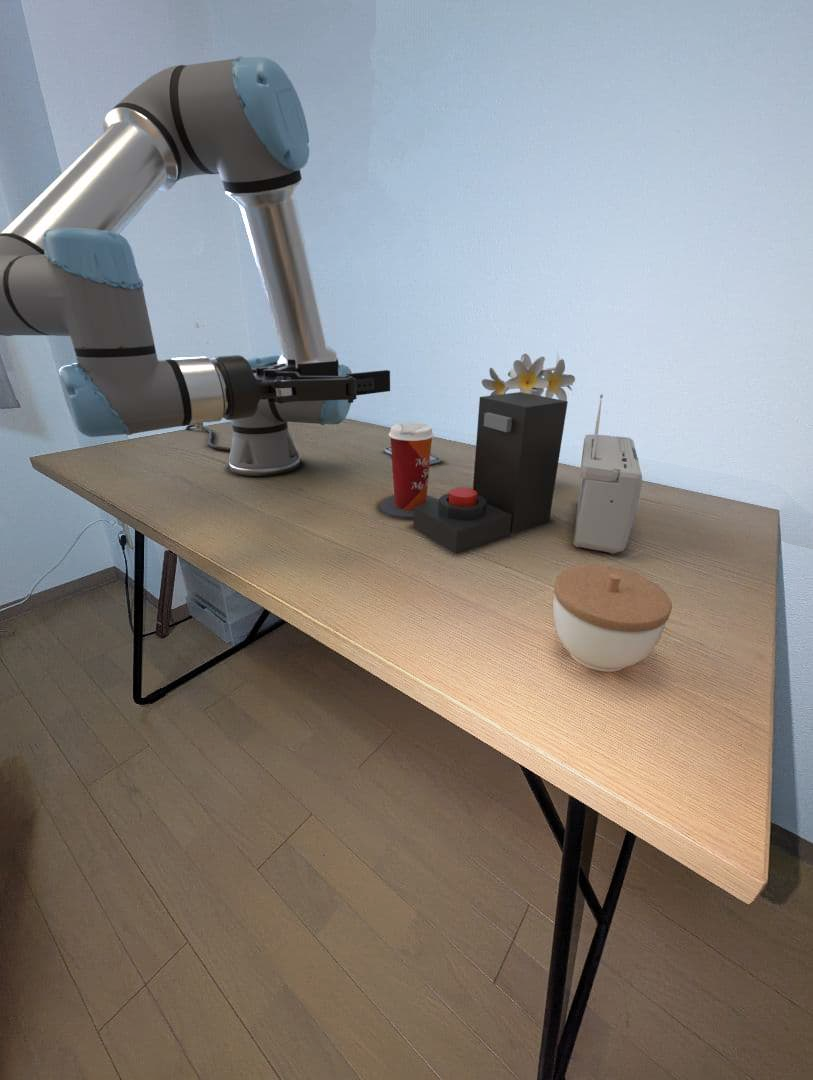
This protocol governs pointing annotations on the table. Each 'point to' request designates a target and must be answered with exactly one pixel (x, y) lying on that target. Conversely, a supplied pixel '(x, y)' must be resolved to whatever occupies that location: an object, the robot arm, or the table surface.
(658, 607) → the trinket box
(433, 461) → the smartphone
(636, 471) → the radio
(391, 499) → the coaster
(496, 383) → the flower vase
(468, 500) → the coffee button
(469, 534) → the base
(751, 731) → the table surface
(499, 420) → the tank
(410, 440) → the paper cup
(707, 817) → the table surface
